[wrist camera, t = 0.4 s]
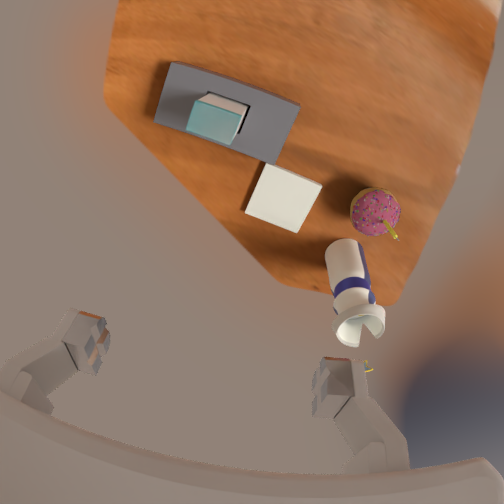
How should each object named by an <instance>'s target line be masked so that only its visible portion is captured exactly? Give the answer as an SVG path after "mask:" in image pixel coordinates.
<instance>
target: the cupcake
mask: <svg viewBox="0 0 504 504" xmlns="http://www.w3.org/2000/svg"><path fill="white" fill-rule="evenodd" d="M400 210H401V209H400V205H399V204H398V203H397V201H396V199H395V197H394V196H393V195H392V193H391V192H390V191H388V190H386V189H382V188H377V187H372V188H367V189H364V190H362V191H360V192H359V193H358V194H357V195H356V196H355V197H354V198H353V200H352V202H351V206H350V219H351V222H352V225H353V226H354V228H355V229H356V230H358V232H361V234H362V233H363V234H365V235H367V236H368V235H369V236H378V235H383V234H384V233H387V232H390V233H391V235H392V236H393V238H394V239H397V240H398V241H399V239H398V238H397V235H396V233H395V232H394V230H393V229H392V228H394V226H395V224H396V223H397V222H398V220H399V219H398V218H399V217H400V213H401V211H400Z"/></svg>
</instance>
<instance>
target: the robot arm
mask: <svg viewBox="0 0 504 504" xmlns="http://www.w3.org/2000/svg"><path fill="white" fill-rule="evenodd" d="M106 324H107V323H106V320H105V318H104V317H100V316H97V315H93V314H90V313H87V312H83V311H80V310H77V309H73V308H70V309H69V310H67V312H66V313H65V315H64V317H63V318H62V320H61V321H60V323H59V325H58V326H57V328H56V329H55V331H54V333H53V334H52V336H51V338H50V337H46V338H45V339H43V340H41V341H39V342H38V343H36V344H34V345H33V346H31V347H29V348H27V349H26V350H24V351H22V352H20V353H19V354H17V355H15V356H14V357H12V358H10V359H8V360H7V361H5V363H4V364H3V366H2V368H1V370H0V504H504V480H503V478H502V476H501V475H500V474H499V472H498V471H497V470H496V469H495V468H494V467H493V466H492V465H491V464H490V463H489V462H488V461H487V460H486V459H484V458H482V457H478V458H473V459H468V460H464V461H460V462H454V463H449V464H444V465H438V466H432V467H426V468H419V469H411V470H410V464H409V456H408V448H407V441H406V439H405V437H404V436H403V435H402V434H401V433H400V431H399V430H398V429H397V428H396V426H395V425H394V424H393V423H392V421H391V420H390V419H389V418H388V416H387V415H386V414H385V413H384V411H383V410H382V409H381V408H380V407H379V405H378V404H377V403H376V402H375V400H374V399H373V398H371V397H369V396H368V389H367V381H366V375H365V368H364V362H363V361H362V360H354V359H346V358H332V357H323V358H322V359H321V361H320V367H319V368H317V369H316V371H315V374H314V376H313V380H312V393H313V394H314V395H315V398H314V400H313V401H312V417H316V418H328V419H334V422H335V423H336V425H337V427H338V429H339V430H340V432H341V434H342V435H343V437H344V439H345V440H346V442H347V444H348V445H349V447H350V449H351V450H352V452H353V454H354V455H355V456H353V457H352V458H351V459H350V460H348V461H347V462H346V463H345V464H344V465H343V474H295V473H279V472H267V471H257V470H248V469H240V468H233V467H226V466H220V465H214V464H208V463H202V462H197V461H192V460H187V459H183V458H178V457H174V456H170V455H165V454H161V453H157V452H153V451H150V450H146V449H142V448H139V447H135V446H132V445H128V444H125V443H122V442H119V441H116V440H112V439H110V438H106V437H104V436H101V435H98V434H95V433H93V432H90V431H87V430H85V429H82V428H79V427H77V426H74V425H72V424H69V423H67V422H64V421H61V420H60V419H57V418H55V417H53V416H51V413H52V411H53V409H54V407H53V404H52V403H51V402H50V400H49V399H48V398H47V395H49V394H50V393H51V392H52V391H54V390H55V389H56V388H58V387H59V386H60V385H61V384H63V383H64V382H65V381H66V380H68V379H69V378H70V377H72V376H73V375H74V374H75V373H77V372H78V370H79V371H82V372H85V373H88V374H92V375H95V376H96V375H97V373H98V370H99V368H100V366H101V364H102V360H101V357H102V356H103V355H105V354H106V353H107V351H108V349H109V345H110V333H109V331H108V330H107V329H106V328H105V326H106Z"/></svg>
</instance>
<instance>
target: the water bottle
mask: <svg viewBox="0 0 504 504" xmlns="http://www.w3.org/2000/svg"><path fill="white" fill-rule="evenodd" d="M325 261H326V265H327V270H328V275H329V281H330V287H331V291H332V293H333V295H334V297H335V300H334V303H333V308H334V311H335V312H336V314H337V315H338V316H337V317H336V318H335V319H334V321H333V323H332V330H333V331H334V332H335V334H336V336H337V338H338V339H339V341H341V342H342V343H343V344H345V345H347V346H352V347H358V346H359V341H360V334H361V328H362V324H363V323H364V324H365V325H366V327H367V328H368V329H369V330H370V331H371V333H372V334H373V336H374V337H375V338H379V337H381V335H382V334H383V332H384V329H385V310H384V309H383V307H381V306H379V305H376V304H375V296H374V294H373V293H372V292H371V289H370V286H371V281H370V276H369V272H368V268H367V264H366V260H365V256H364V251H363V248H362V246H361V245H360V243H358V242H357V241H355V240H353V239H348V238H345V239H339V240H337V241H335V242H333V243H332V244H330V245H329V247H328V248H327V250H326V252H325ZM364 368H365V372H367V371H370V370H373V369H372V368H370V367H368V366H367V360H366V361H364Z"/></svg>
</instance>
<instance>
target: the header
mask: <svg viewBox="0 0 504 504" xmlns="http://www.w3.org/2000/svg"><path fill="white" fill-rule="evenodd" d="M211 92H214V93H217V94H219V95H222V96H225V97H228V98H231V99H234V100H237V101H239V102H242V103H245V104H248V105H250V106H251V107H250V110H249V112H248V114H247V117H246V119H245V122H244V124H243V127H242V129H241V128H239V130H238V132H237V134H236V135H235V137H234V139H233V140H232V143H231V145H227V144H224V143H221V142H219V141H216V140H213V139H210V138H208V137H205V136H202V135H199V134H196V133H193V132H190V131H187V130H186V127H187V124H188V121H189V118H190V115H191V112H192V109H193V106H194V103H195V101H196V100H199V99H200V98H202V97H204V96H206V95H207V94H209V93H211ZM300 108H301V107H300V104H299V103H297V102H294V101H292V100H290V99H287V98H285V97H282V96H280V95H277V94H275V93H272V92H270V91H267V90H265V89H262V88H259V87H257V86H254V85H251V84H249V83H246V82H243V81H240V80H237V79H235V78H232V77H229V76H226V75H223V74H220V73H217V72H214V71H210V70H207V69H204V68H201V67H197V66H194V65H190V64H187V63H183V62H180V61H177V62H171V65H170V68H169V71H168V74H167V77H166V80H165V84H164V87H163V90H162V93H161V97H160V100H159V104H158V107H157V111H156V114H155V118H154V121H153V122H155V123H158V124H161V125H164V126H167V127H170V128H173V129H176V130H179V131H182V132H185V133H188V134H191V135H194V136H197V137H200V138H203V139H206V140H209V141H211V142H214V143H217V144H220V145H222V146H225V147H228V148H230V149H233V150H236V151H238V152H241V153H244V154H246V155H249V156H251V157H254V158H257V159H259V160H262V161H264V162H267V163H269V164H272V165H274V164H275V162H276V160H277V158H278V156H279V153H280V151H281V149H282V147H283V145H284V142H285V140H286V138H287V136H288V134H289V132H290V129H291V127H292V125H293V123H294V121H295V119H296V116H297V114H298V112H299V110H300Z"/></svg>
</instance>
